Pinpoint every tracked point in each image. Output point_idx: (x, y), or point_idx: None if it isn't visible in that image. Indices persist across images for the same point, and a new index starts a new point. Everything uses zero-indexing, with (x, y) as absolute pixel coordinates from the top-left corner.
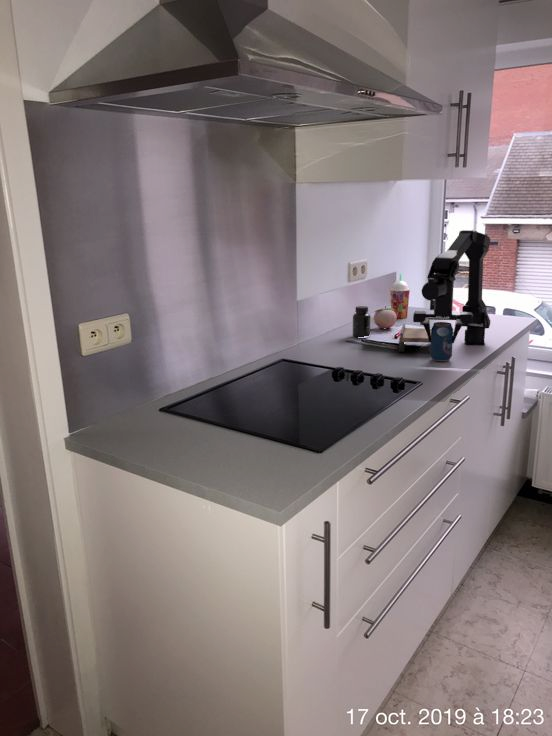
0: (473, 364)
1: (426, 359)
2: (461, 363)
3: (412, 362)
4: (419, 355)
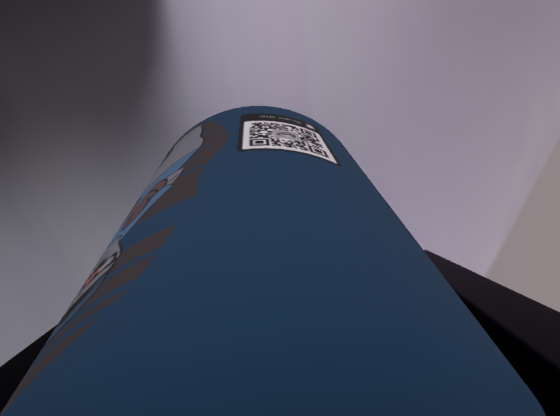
0: (510, 228)
1: (134, 194)
2: (424, 227)
3: (63, 305)
4: (9, 62)
